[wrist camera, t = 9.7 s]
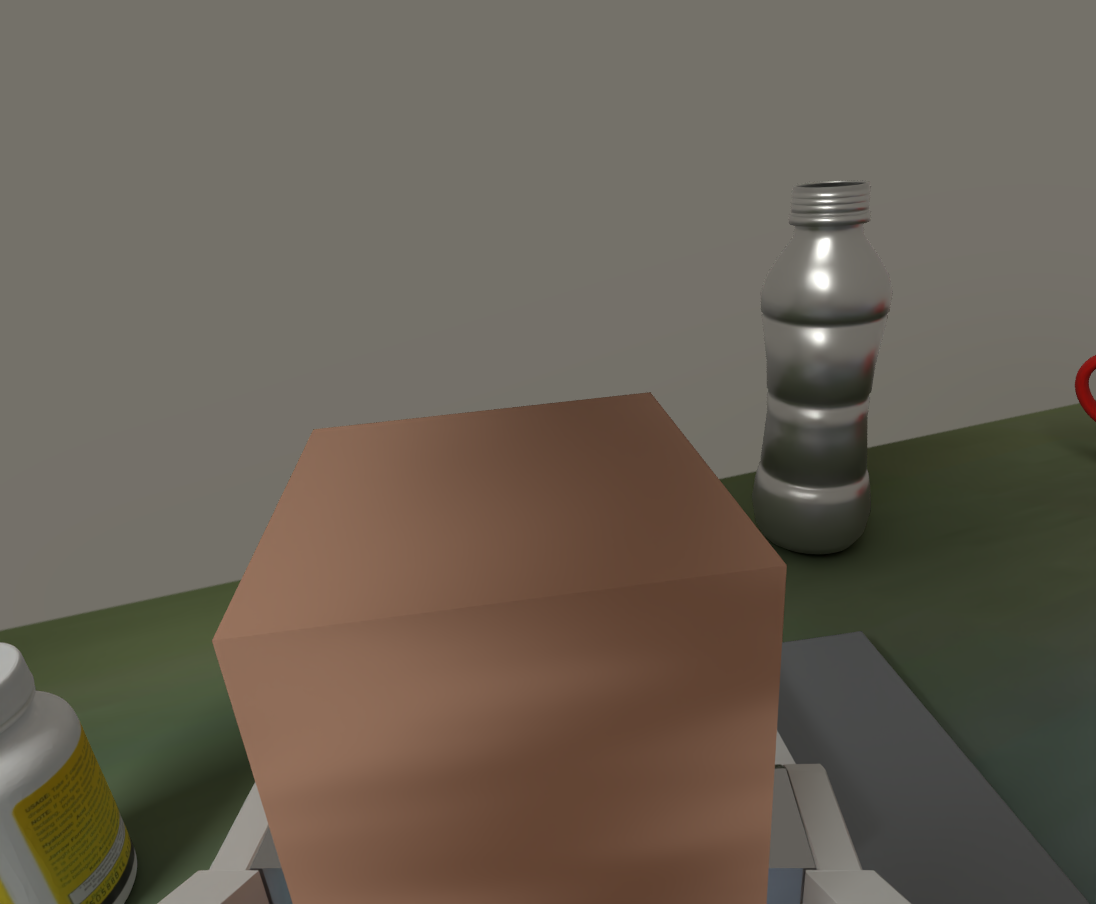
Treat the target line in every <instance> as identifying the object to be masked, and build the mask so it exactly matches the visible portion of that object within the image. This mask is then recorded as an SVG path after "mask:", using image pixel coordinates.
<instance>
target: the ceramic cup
mask: <svg viewBox="0 0 1096 904" xmlns="http://www.w3.org/2000/svg"><path fill="white" fill-rule="evenodd" d="M1095 369H1096V355H1095V356H1093V357H1091V358H1090V359H1088V360H1087V361H1086V362H1085V363H1084V364H1083V365H1082V366H1081V368H1080V369H1079V371H1078V373H1077V376H1076V380H1075V390H1076V395H1077V398H1078V400H1079V402H1080V404H1081V406H1082V407H1083V409H1084V410H1085V412H1086V413H1087V414H1088V415H1089V416H1090V417H1091V418H1092V419H1093V420H1094V421H1095V422H1096V401H1095V400H1094V398H1093V396H1092V395H1091V392H1090V389H1089V378H1090V375H1091V373H1092V372H1093V371H1094V370H1095Z"/></svg>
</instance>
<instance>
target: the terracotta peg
mask: <svg viewBox="0 0 1096 904" xmlns="http://www.w3.org/2000/svg"><path fill="white" fill-rule="evenodd" d="M786 568H787V565H786V564H785V563H784V561H783V560H782V559H781V558H780V556H779V555H778V554H777V552H776V551H775V550H774V549H773V547H772V546H771V545H770V544H769V542H768V541H767V540H766V539H765V537H764V536H763V535H762V533H761V532H760V531H759V530H758V528H757V527H756V526H755V525H754V523H753V522H752V521H751V519H750V518H749V517H748V516H747V514H746V513H745V512H744V511H743V509H742V508H741V507H740V506H739V504H738V503H737V502H736V500H735V499H734V498H733V497H732V495H731V494H730V493H729V492H728V490H727V489H726V488H725V486H724V485H723V484H722V483H721V481H720V480H719V479H718V478H717V477H716V475H715V474H714V473H713V471H712V470H711V469H710V467H709V466H708V465H707V464H706V462H705V461H704V460H703V459H702V457H701V456H700V455H699V453H698V452H697V451H696V450H695V449H694V447H693V446H692V445H691V443H690V442H689V441H688V440H687V439H686V437H685V436H684V434H683V433H682V432H681V431H680V429H679V428H678V427H677V426H676V424H675V423H674V422H673V420H672V419H671V418H670V417H669V415H668V414H667V413H666V412H665V411H664V409H663V408H662V407H661V405H660V404H659V403H658V401H657V400H656V399H655V398H654V397H653V395H652V394H651V393H650V392H649V393H640V394H630V395H622V396H612V397H603V398H594V399H586V400H576V401H567V402H558V403H549V404H540V405H531V406H522V407H513V408H504V409H494V410H486V411H477V412H467V413H458V414H449V415H440V416H431V417H423V418H413V419H404V420H395V421H386V422H378V423H377V422H376V423H367V424H358V425H349V426H340V427H331V428H322V429H314V430H313V431H312V433H311V436H310V438H309V440H308V442H307V444H306V446H305V448H304V450H303V452H302V454H301V456H300V458H299V460H298V463H297V465H296V467H295V469H294V471H293V473H292V475H291V477H290V479H289V481H288V483H287V486H286V488H285V490H284V492H283V494H282V496H281V498H280V500H279V502H278V504H277V506H276V508H275V511H274V513H273V515H272V517H271V519H270V521H269V523H268V525H267V527H266V529H265V532H264V534H263V536H262V538H261V540H260V542H259V544H258V546H257V548H256V550H255V552H254V555H253V557H252V559H251V561H250V563H249V565H248V567H247V569H246V571H245V573H244V575H243V577H242V579H241V581H240V584H239V586H238V588H237V590H236V592H235V594H234V596H233V598H232V600H231V602H230V604H229V606H228V609H227V611H226V613H225V615H224V617H223V619H222V621H221V623H220V625H219V627H218V629H217V632H216V634H215V636H214V638H213V640H212V642H213V645H214V649H215V652H216V655H217V658H218V662H219V665H220V668H221V671H222V675H223V678H224V681H225V684H226V688H227V691H228V694H229V697H230V701H231V704H232V707H233V711H234V714H235V717H236V720H237V724H238V727H239V730H240V733H241V737H242V740H243V743H244V746H245V750H246V753H247V756H248V759H249V763H250V766H251V769H252V773H253V776H254V779H255V782H256V786H257V789H258V792H259V795H260V799H261V802H262V805H263V808H264V812H265V815H266V818H267V821H268V825H269V828H270V831H271V834H272V838H273V841H274V844H275V848H276V851H277V854H278V857H279V861H280V864H281V867H282V870H283V874H284V877H285V880H286V883H287V887H288V890H289V893H290V896H291V900H292V903H293V904H767V887H768V871H769V854H770V837H771V820H772V803H773V787H774V770H775V753H776V736H777V720H778V703H779V686H780V669H781V652H782V636H783V619H784V602H785V585H786Z"/></svg>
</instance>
